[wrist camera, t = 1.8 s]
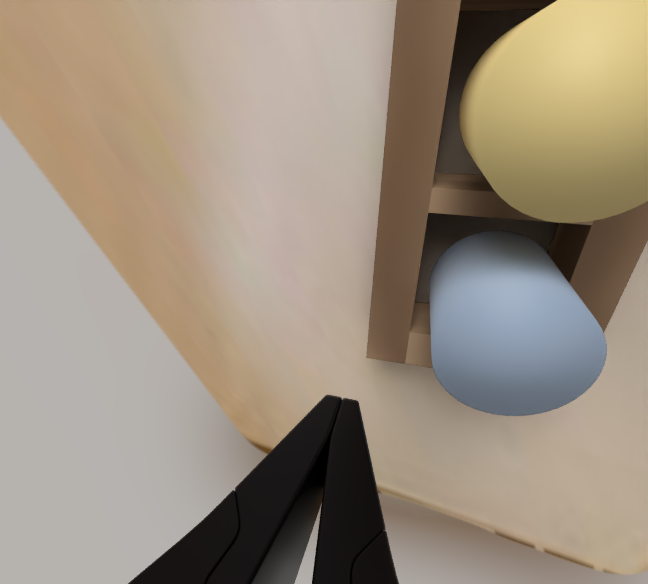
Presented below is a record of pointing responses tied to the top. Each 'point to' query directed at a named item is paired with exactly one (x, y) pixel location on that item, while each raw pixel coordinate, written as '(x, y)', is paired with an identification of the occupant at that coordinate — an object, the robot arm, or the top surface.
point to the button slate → (510, 327)
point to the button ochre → (564, 111)
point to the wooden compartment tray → (462, 192)
